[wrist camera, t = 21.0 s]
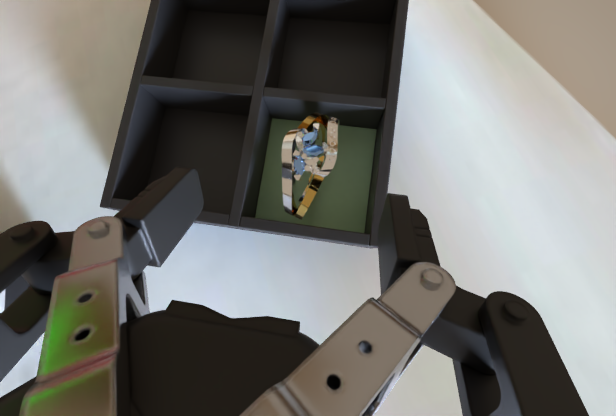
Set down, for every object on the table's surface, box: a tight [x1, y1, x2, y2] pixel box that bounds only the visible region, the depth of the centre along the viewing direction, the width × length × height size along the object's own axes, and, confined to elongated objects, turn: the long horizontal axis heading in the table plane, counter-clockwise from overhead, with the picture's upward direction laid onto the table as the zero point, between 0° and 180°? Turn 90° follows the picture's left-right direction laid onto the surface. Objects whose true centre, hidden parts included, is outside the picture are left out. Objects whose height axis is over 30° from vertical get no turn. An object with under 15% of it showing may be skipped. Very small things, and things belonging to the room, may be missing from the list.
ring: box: [282, 112, 340, 220], centre depth 19 cm, size 7×3×8 cm, turn 154°
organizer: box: [100, 0, 409, 248], centre depth 23 cm, size 20×20×4 cm
